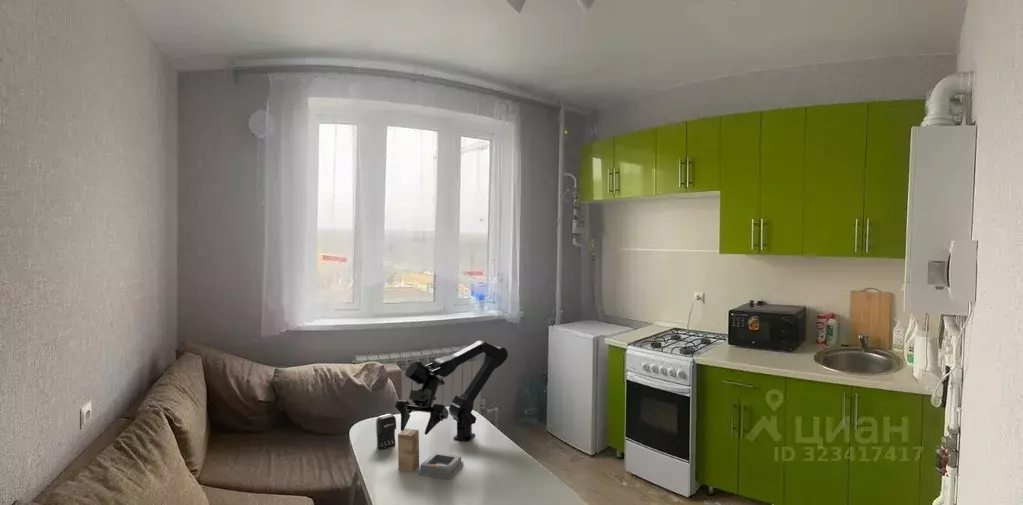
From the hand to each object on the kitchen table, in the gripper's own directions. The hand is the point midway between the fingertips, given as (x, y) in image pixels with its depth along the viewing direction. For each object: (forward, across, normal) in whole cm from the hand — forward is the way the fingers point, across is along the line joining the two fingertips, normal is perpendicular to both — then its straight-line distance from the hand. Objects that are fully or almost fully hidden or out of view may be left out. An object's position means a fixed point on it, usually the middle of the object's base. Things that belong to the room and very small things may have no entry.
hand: (413, 432), depth 172 cm
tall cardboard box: (+10, 0, +5) cm, 11 cm away
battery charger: (+2, -16, +13) cm, 21 cm away
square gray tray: (+8, +11, +6) cm, 15 cm away
